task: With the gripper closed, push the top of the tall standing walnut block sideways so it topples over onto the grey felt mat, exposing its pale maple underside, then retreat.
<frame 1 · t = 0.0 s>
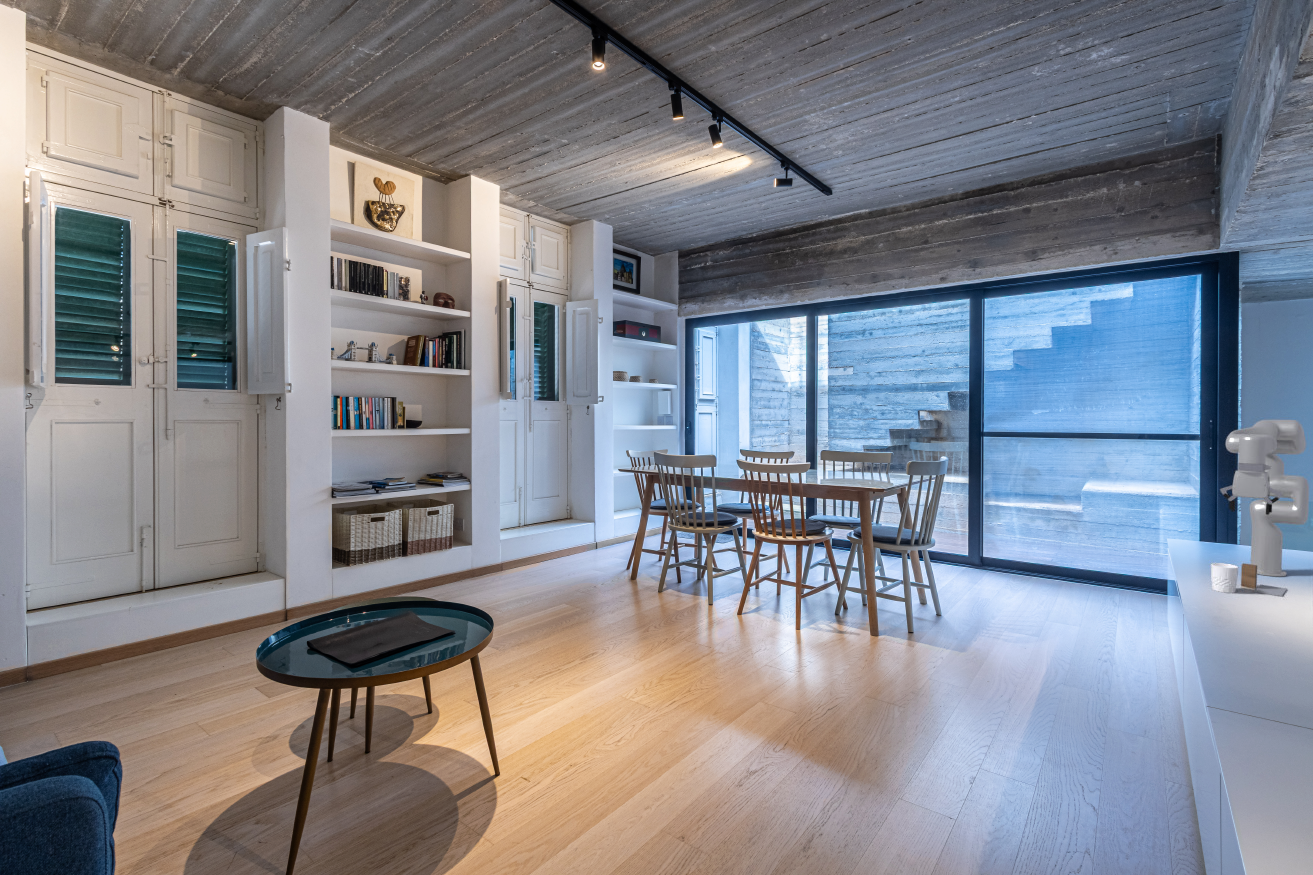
hand: (1250, 512, 236), 31 cm above the counter, fingers open, 9 cm apart
white cup: (1223, 591, 241), on the counter
mat: (1270, 590, 241), on the counter
block: (1248, 587, 245), on the counter
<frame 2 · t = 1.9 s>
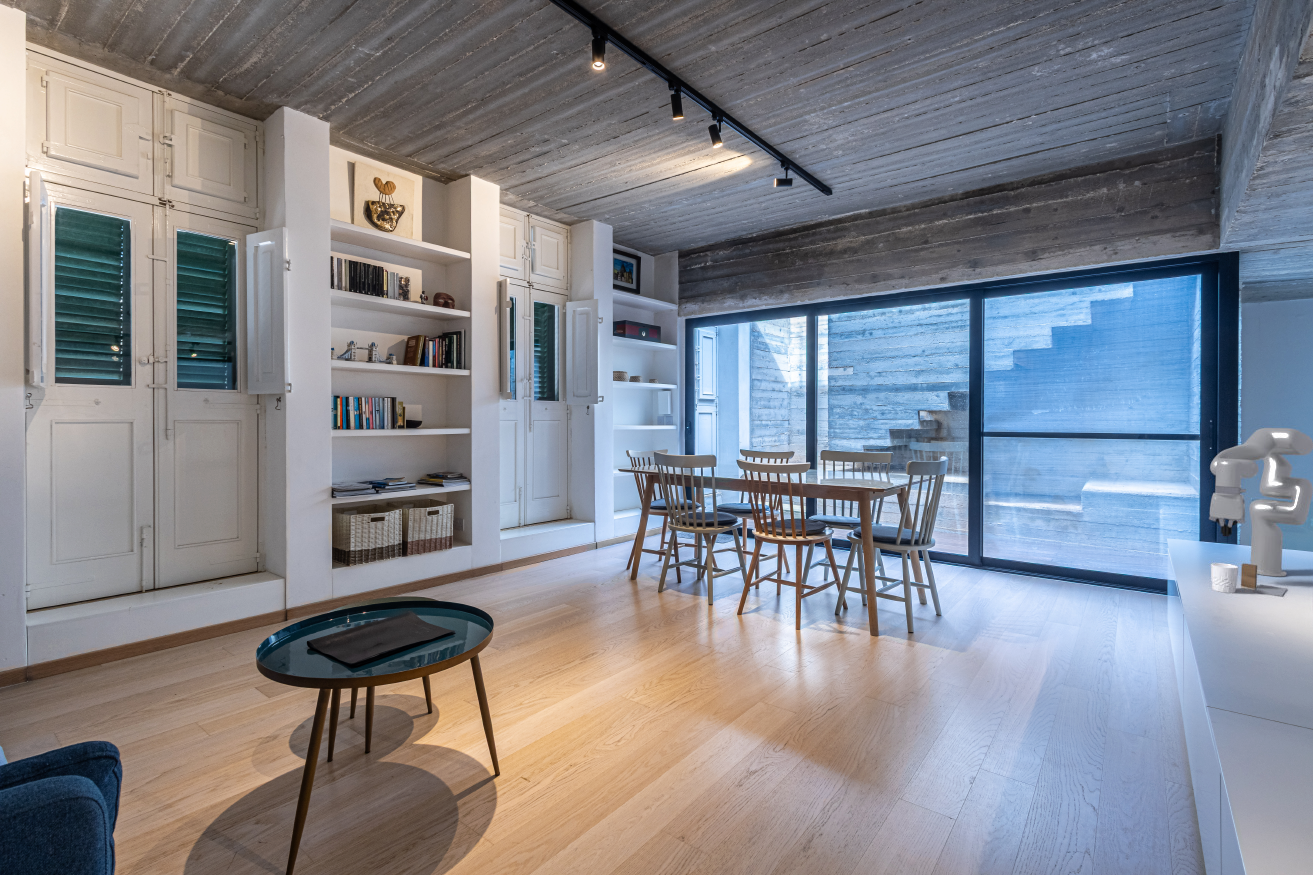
hand: (1226, 535, 250), 20 cm above the counter, fingers closed
nothing on the counter moved.
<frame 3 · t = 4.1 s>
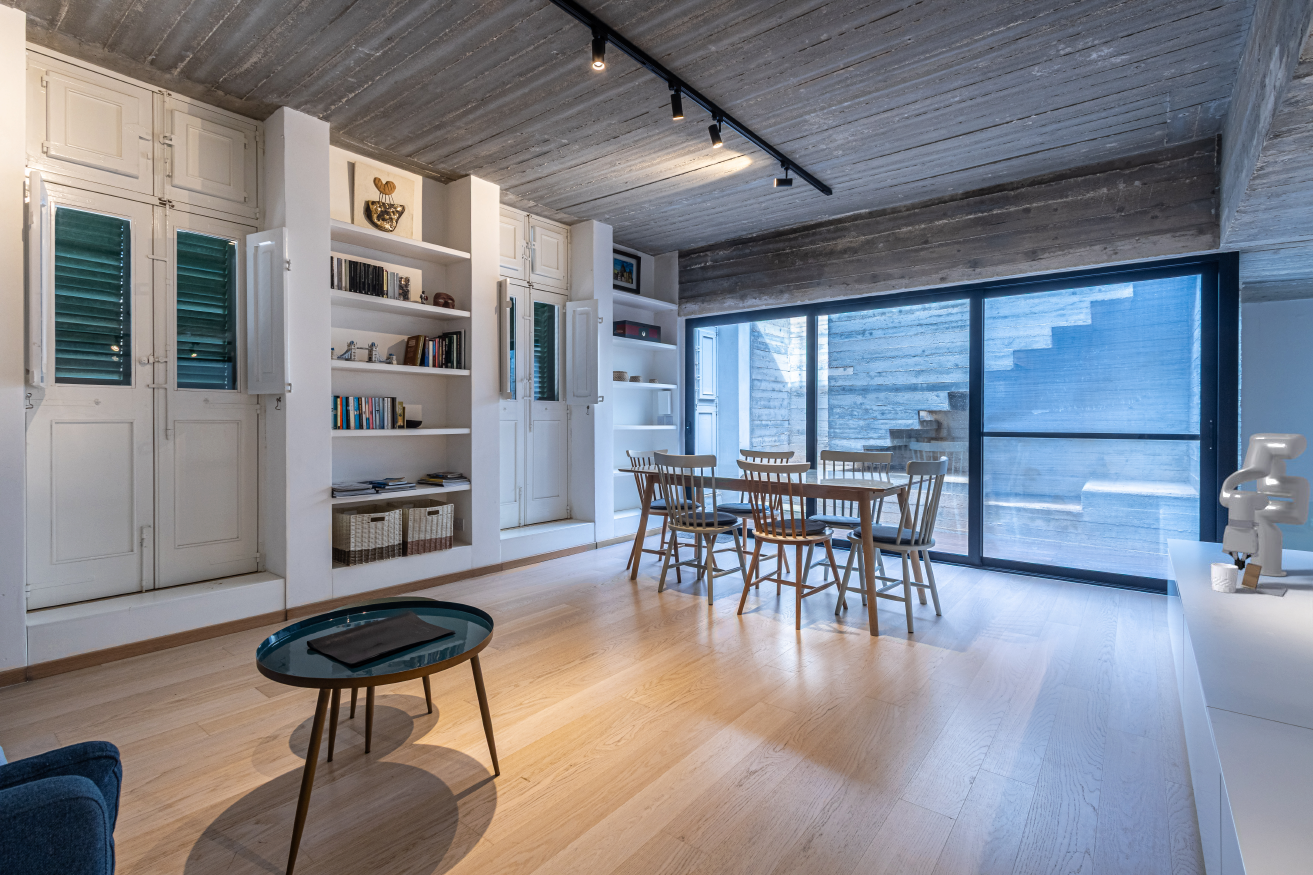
hand: (1239, 569, 247), 7 cm above the counter, fingers closed
block: (1248, 586, 245), on the counter, tilted 9°
everything else where it was.
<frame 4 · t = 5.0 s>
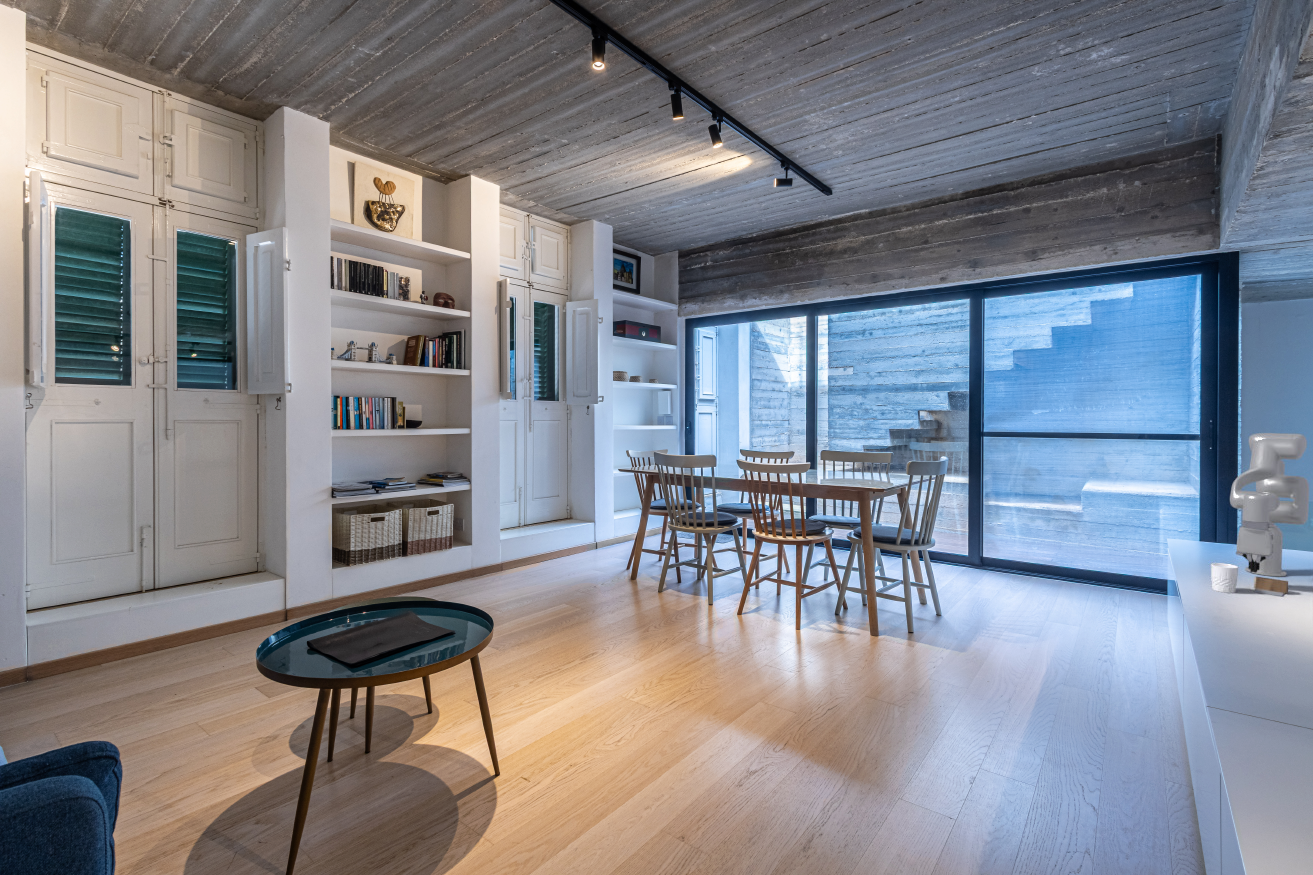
hand: (1253, 571, 244), 7 cm above the counter, fingers closed
block: (1254, 582, 244), point 2 cm above the counter, tilted 90°, touching mat
everything else where it was.
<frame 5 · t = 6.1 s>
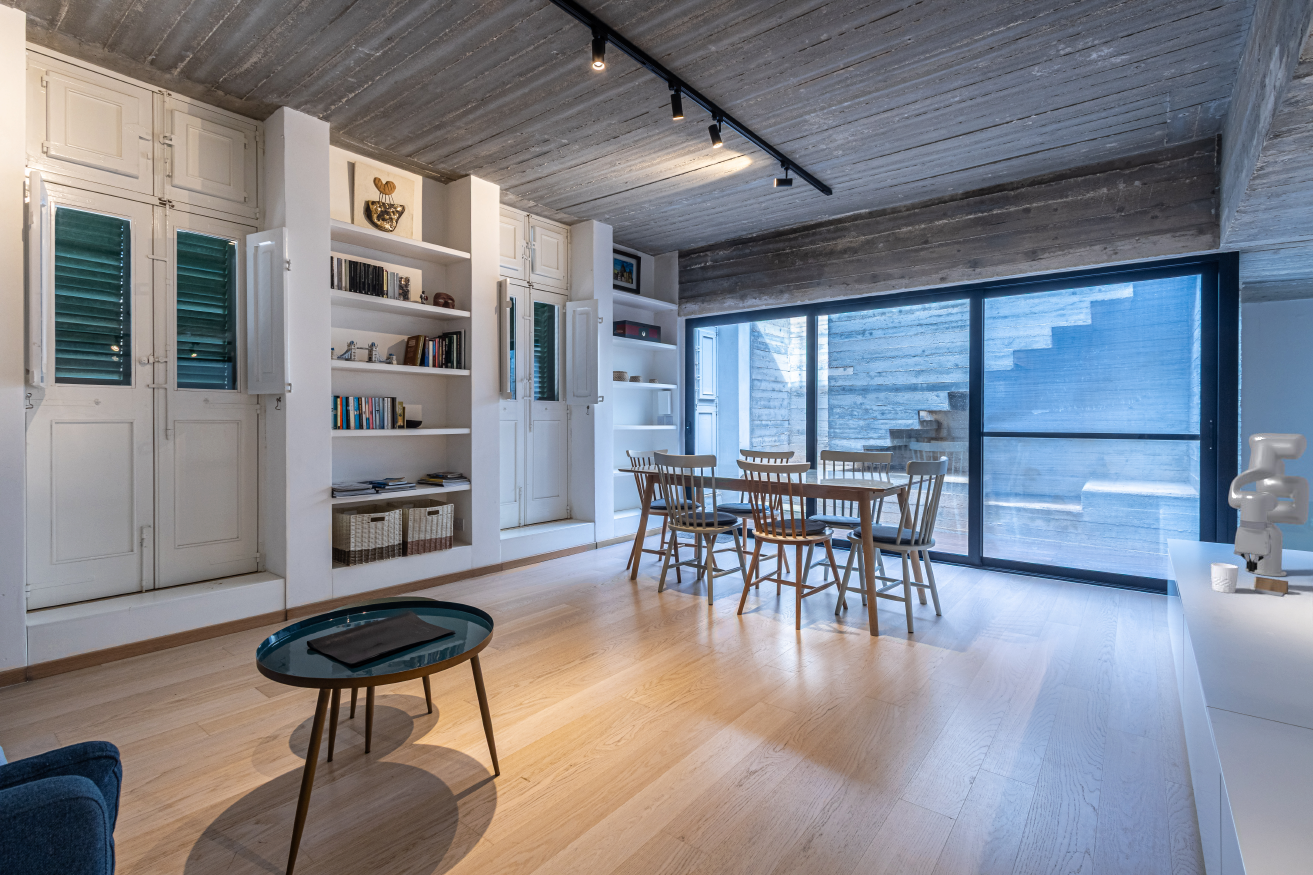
hand: (1251, 571, 245), 7 cm above the counter, fingers closed
nothing on the counter moved.
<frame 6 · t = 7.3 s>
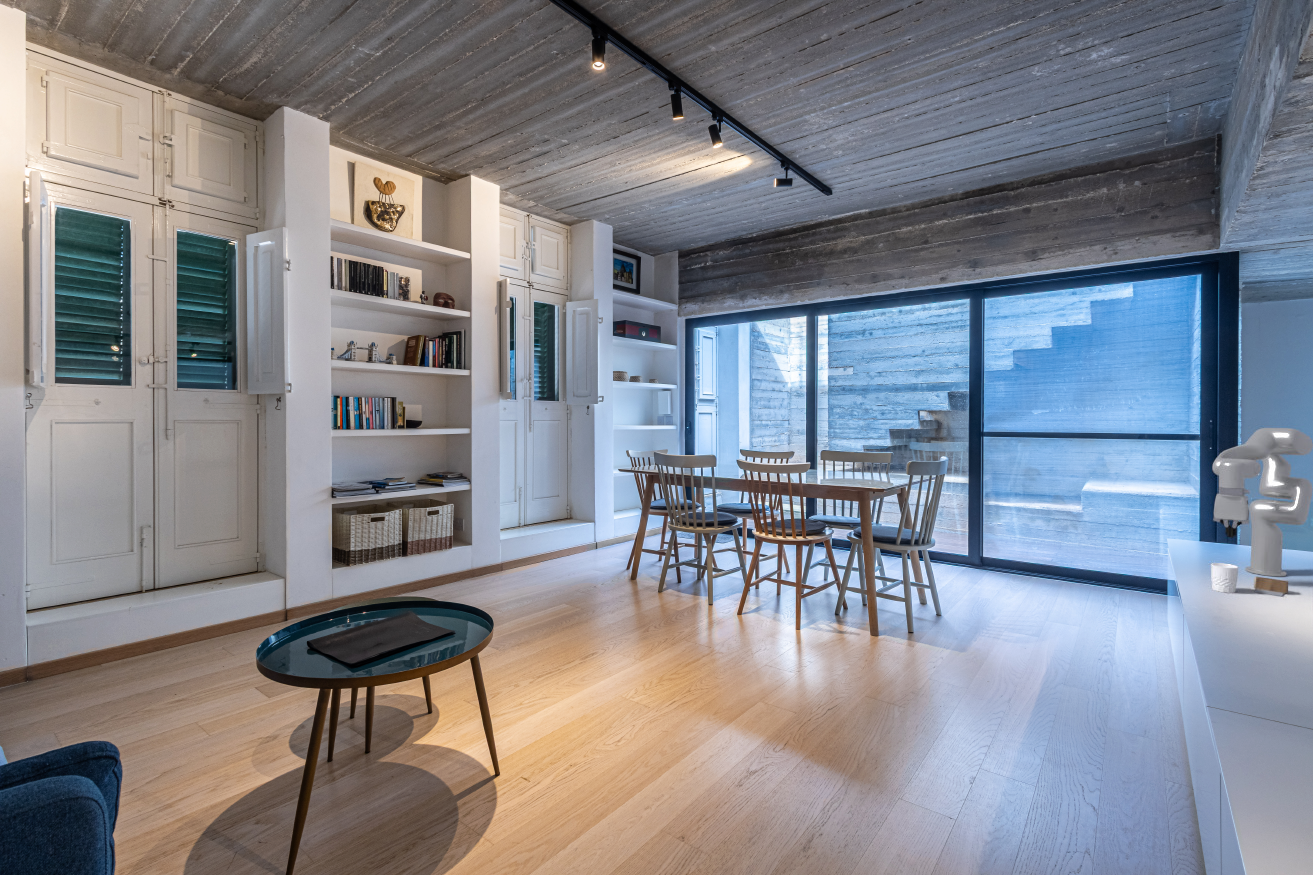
hand: (1230, 536, 250), 19 cm above the counter, fingers closed
nothing on the counter moved.
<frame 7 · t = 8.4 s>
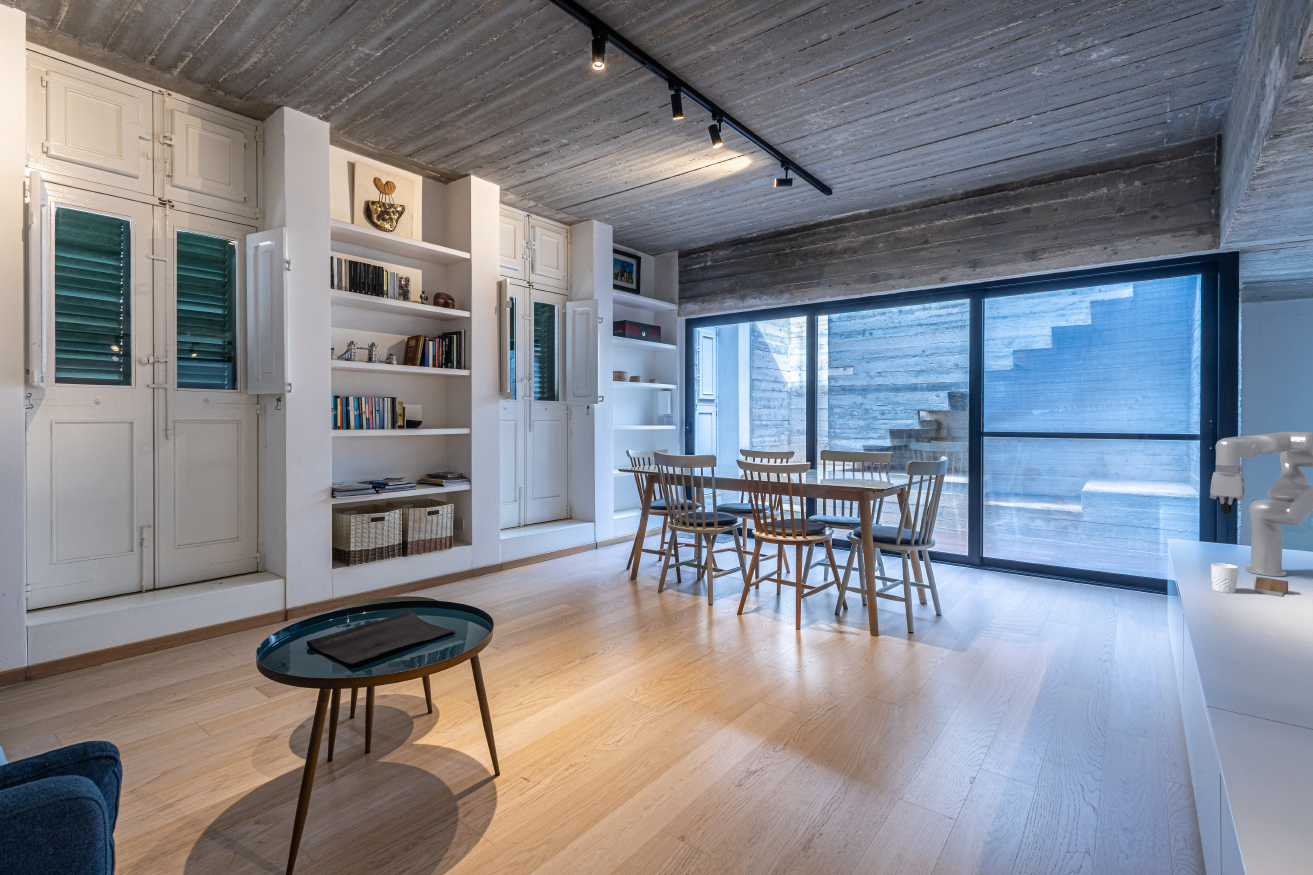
hand: (1226, 513, 259), 27 cm above the counter, fingers closed
nothing on the counter moved.
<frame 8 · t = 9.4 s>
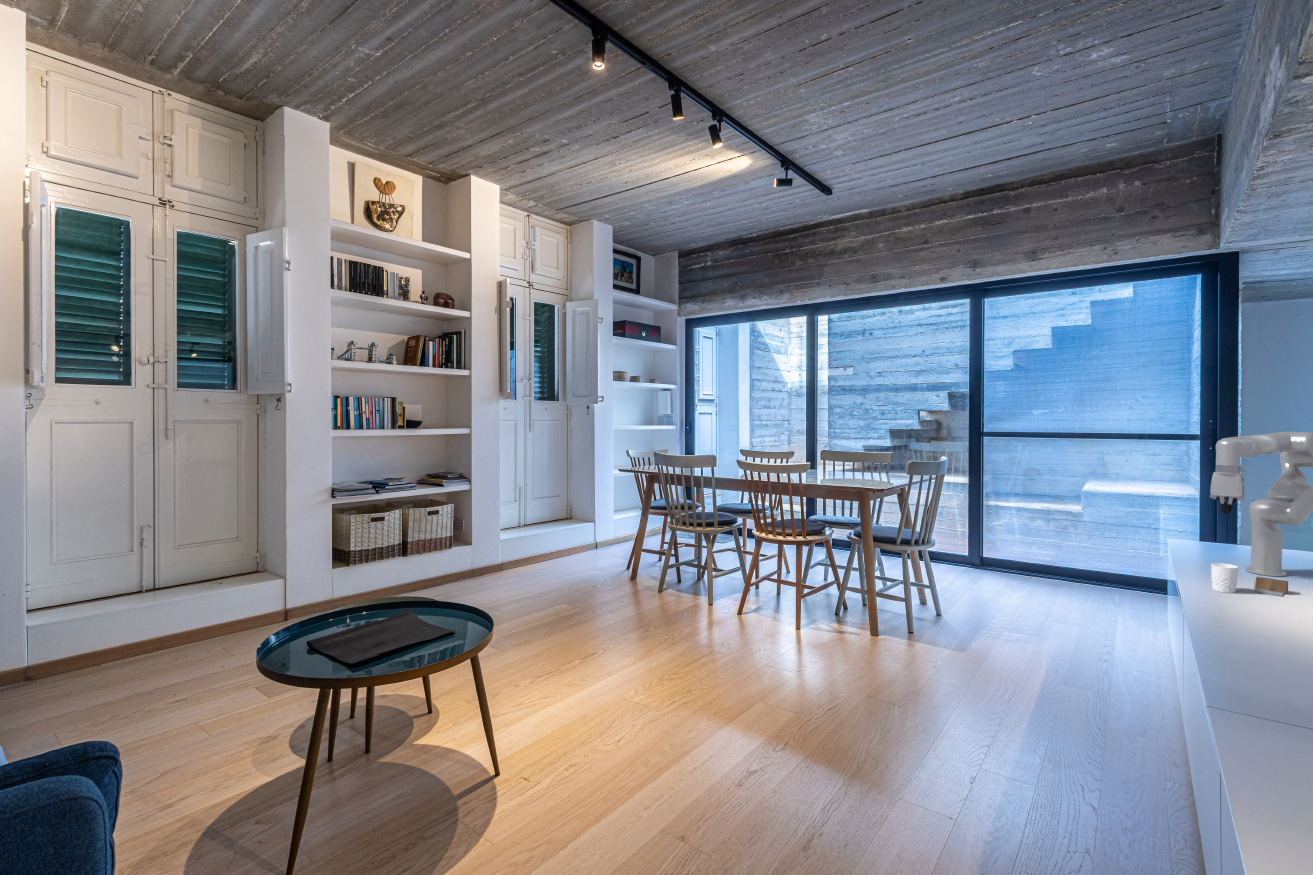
hand: (1226, 513, 259), 27 cm above the counter, fingers closed
nothing on the counter moved.
at the end: block tilted 90°; block inside the target area (3.3 cm from its centre), point 2.4 cm above the counter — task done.
